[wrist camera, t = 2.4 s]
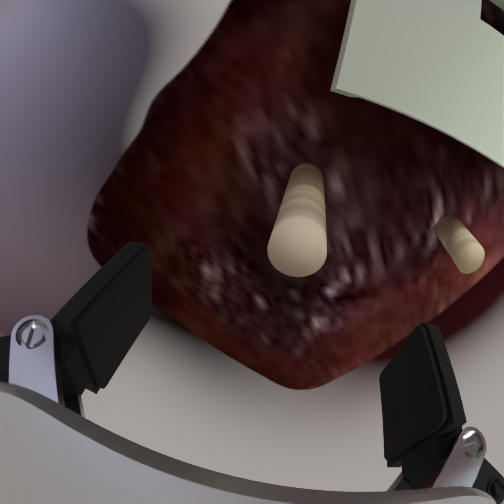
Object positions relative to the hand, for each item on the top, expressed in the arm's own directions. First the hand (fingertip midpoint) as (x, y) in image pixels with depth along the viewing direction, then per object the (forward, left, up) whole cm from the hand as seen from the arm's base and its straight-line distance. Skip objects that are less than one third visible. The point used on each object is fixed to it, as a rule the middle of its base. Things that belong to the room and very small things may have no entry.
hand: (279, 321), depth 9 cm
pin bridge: (-17, +9, -15) cm, 25 cm away
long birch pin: (0, 0, -15) cm, 15 cm away
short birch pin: (0, +13, -15) cm, 20 cm away
